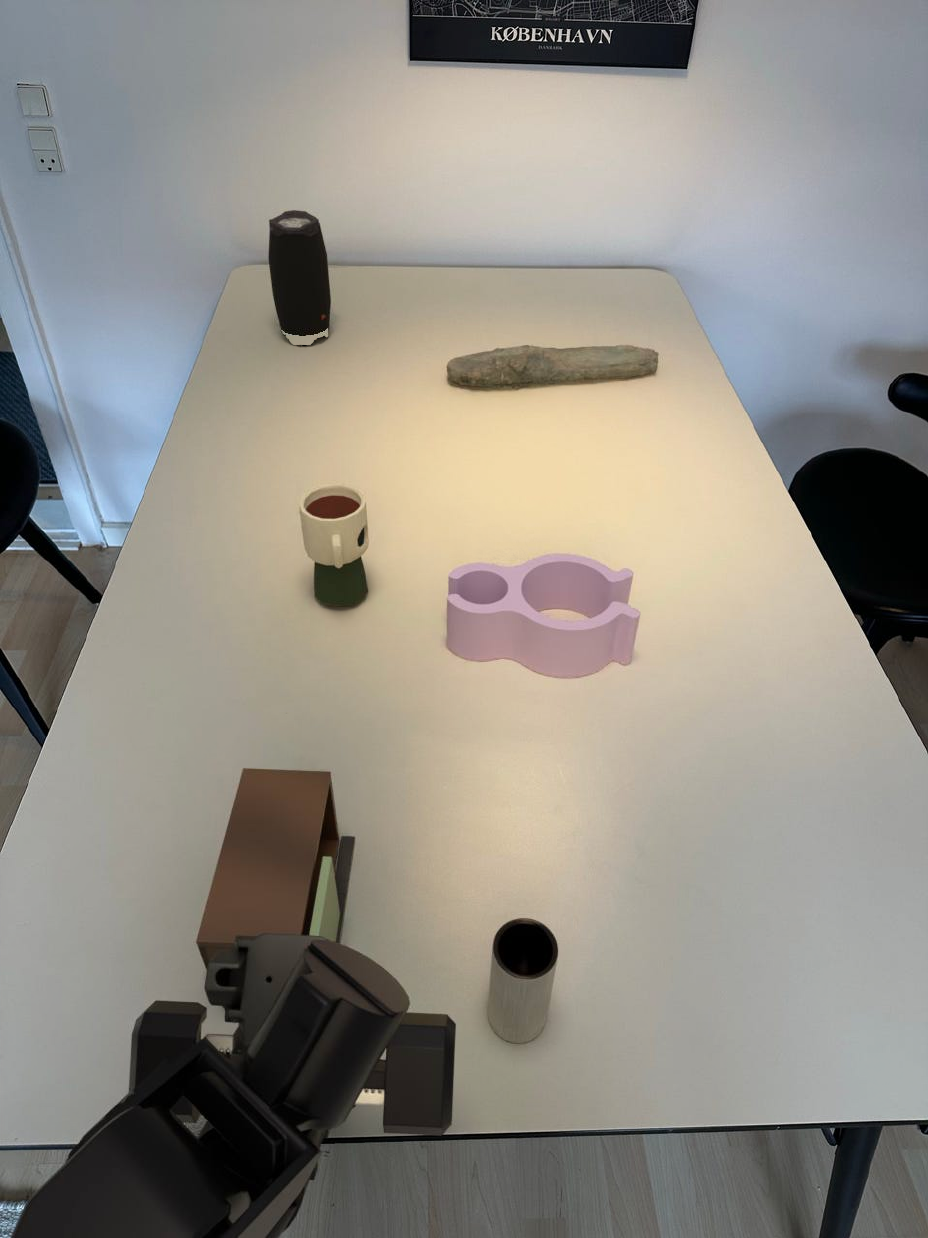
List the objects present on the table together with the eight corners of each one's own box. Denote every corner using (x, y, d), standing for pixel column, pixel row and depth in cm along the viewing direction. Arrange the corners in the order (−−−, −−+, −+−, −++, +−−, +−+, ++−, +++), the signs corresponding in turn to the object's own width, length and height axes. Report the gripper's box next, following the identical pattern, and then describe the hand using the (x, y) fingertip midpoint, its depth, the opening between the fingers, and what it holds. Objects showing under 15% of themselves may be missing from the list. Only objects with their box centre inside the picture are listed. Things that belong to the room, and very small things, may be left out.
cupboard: (330, 1009, 69) (319, 947, 62) (218, 1004, 69) (195, 941, 63) (355, 839, 80) (347, 771, 74) (259, 835, 80) (243, 767, 74)
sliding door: (342, 1005, 68) (333, 951, 63) (317, 1004, 68) (306, 950, 63) (354, 914, 74) (347, 857, 68) (331, 913, 74) (322, 856, 68)
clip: (444, 673, 95) (445, 625, 91) (449, 596, 105) (450, 549, 100) (633, 680, 95) (643, 632, 91) (622, 602, 104) (630, 555, 100)
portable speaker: (341, 340, 154) (332, 221, 140) (291, 352, 150) (276, 232, 137) (320, 321, 159) (309, 205, 146) (270, 333, 155) (255, 214, 142)
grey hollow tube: (548, 1045, 67) (560, 980, 60) (487, 1043, 67) (493, 979, 60) (544, 985, 71) (556, 917, 64) (487, 984, 71) (492, 916, 64)
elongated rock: (665, 389, 145) (644, 364, 153) (672, 358, 142) (650, 333, 149) (452, 394, 139) (441, 368, 146) (454, 362, 135) (442, 336, 143)
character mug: (376, 622, 101) (370, 528, 93) (312, 628, 100) (300, 534, 92) (368, 561, 109) (361, 470, 100) (308, 567, 108) (297, 475, 99)
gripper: (456, 978, 46) (462, 898, 61) (93, 961, 46) (190, 885, 62) (447, 1203, 45) (455, 1065, 61) (80, 1184, 46) (181, 1051, 61)
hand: (320, 1012), depth 61 cm, fingers closed
